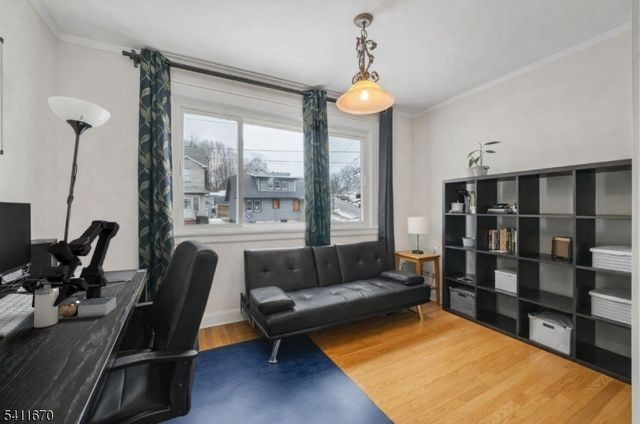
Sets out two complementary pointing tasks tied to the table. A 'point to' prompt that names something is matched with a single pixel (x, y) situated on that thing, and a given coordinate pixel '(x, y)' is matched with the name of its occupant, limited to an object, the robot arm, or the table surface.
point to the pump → (46, 306)
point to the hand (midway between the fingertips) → (43, 306)
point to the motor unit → (87, 307)
